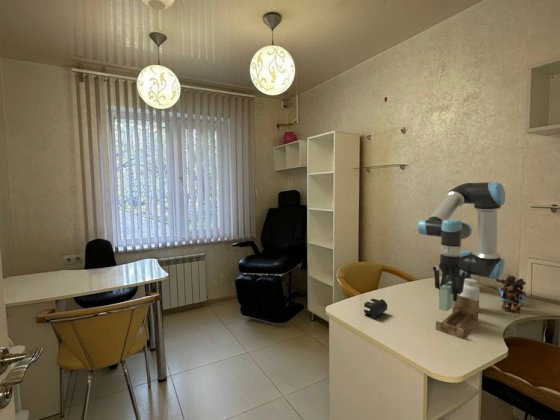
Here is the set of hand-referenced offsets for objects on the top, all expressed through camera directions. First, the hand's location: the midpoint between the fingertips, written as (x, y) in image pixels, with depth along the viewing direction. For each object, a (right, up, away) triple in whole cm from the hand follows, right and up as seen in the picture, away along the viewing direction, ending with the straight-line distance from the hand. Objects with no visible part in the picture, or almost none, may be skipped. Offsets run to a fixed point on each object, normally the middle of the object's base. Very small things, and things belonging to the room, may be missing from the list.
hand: (447, 305), depth 124 cm
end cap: (-30, -7, +7) cm, 32 cm away
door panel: (0, 0, 0) cm, 0 cm away
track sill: (+3, -8, -3) cm, 9 cm away
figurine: (+39, -7, +13) cm, 42 cm away
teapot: (+47, -7, +23) cm, 53 cm away
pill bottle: (+19, -7, +15) cm, 25 cm away
